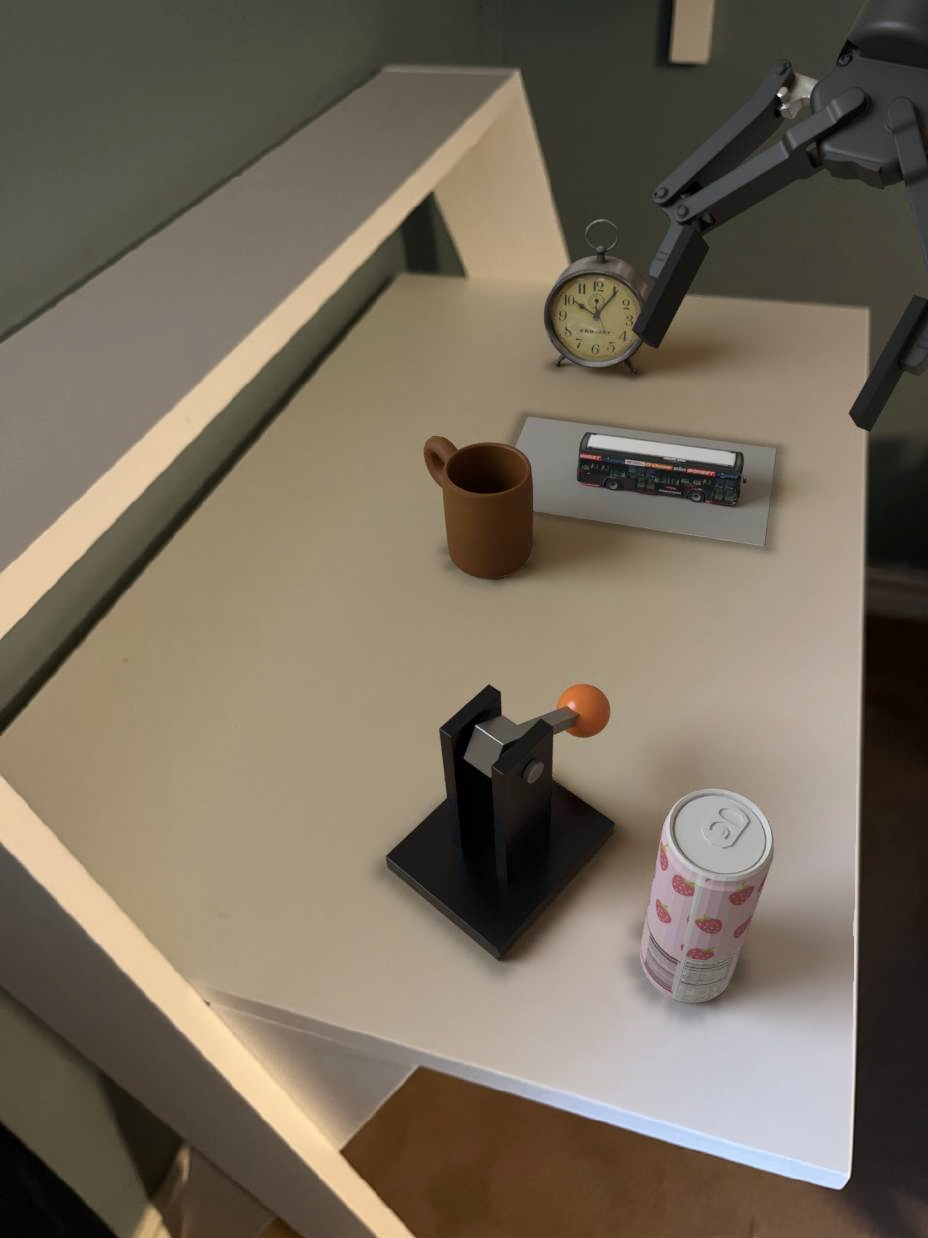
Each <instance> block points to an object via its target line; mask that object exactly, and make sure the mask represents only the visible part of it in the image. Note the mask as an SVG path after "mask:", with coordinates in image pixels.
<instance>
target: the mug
mask: <svg viewBox="0 0 928 1238" xmlns="http://www.w3.org/2000/svg"><path fill="white" fill-rule="evenodd" d="M423 459H424V463H425V465H426V466H425V467H426V468H427V471H428V472H429V474H430V476H431V477H432V479H433V481H434V482H435V483H436V484H437V485H438V486H439V487H440V488H441V489H442V501H443V511H444V524H445V533H446V542H447V551H448V554H449V557H450V559H451V562H452V563H453V564H454V565H455V566H456V568H458V569H459V570H460V571H461V572H462V573H465V574H467V575H470V576H473V577H476V578H480V579H498V578H502V577H503V578H504V577H507V576H509V575H512V574H514V573H516V572H518V571H519V570H520V569H522V568H523V567H524V566H525V565H526V563H527V562H528V561H529V559H530V557H531V555H532V552H533V546H534V545H533V544H534V511H533V479H532V468H531V464H530V461H529V459H528V458H527V457H526V455H525V454H524V453H523V452H521V451H520V450H518V449H516V448H515V446H512V445H510V444H506V443H501V442H495V441H493V442H491V441H487V442H486V441H485V442H477V443H476V442H475V443H472V444H469V445H466V446H463V447H461V448H459V449H458V448H457V447H456V445H454V443H453V442H452V441H450V439H448V438H446V437H444V436H440V435H432V436H431V437H430V438H428V439H427V440H426V441H425V442H424V446H423Z"/></svg>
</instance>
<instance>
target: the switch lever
mask: <svg viewBox="0 0 928 1238" xmlns="http://www.w3.org/2000/svg"><path fill="white" fill-rule="evenodd" d="M610 718H611V705H610V701H609V699H608V697H607V696H606V694H605V693H604V692H603V691H602V690H601V689H600V688H599V687H596V686H595V685H592V684H588V683H587V684H586V683H578V684H574V685H571V686H570V687H568V688H567V689H566V690H564V691H563V693H561V695H560V696H559V698H558V701H557V704H556V709H555V710H552V711H549V712H547V713H545V714H542V715H539V716H536V717H534V718H531V719H529V720H526V721H524V722H522V723H519V724H517V723H516V722H514V721H512V720H511V719H510V718H508V717H507V716H505V715H503V714H502V715H501V716H498V717H496V718H493V719H490V720H488V721H485V722H482V723H479V724H477V725H475V727H474V730H473V733H472V736H471V738H470V741H469V744H468V747H467V750H466V752H465V755H464V759H465V760H466V761H467V762H469V763H470V764H472V765H473V766H474V767H476V768H477V769H478V770H480V771H481V772H483V773H484V774H485V775H487V776H488V777H489V778H492V775H491V766H492V765H493V764H494V763H495V762H496V761H497V760H498V759H499V758H500V757H501V756H502V755H503V754H504V753H505V752H506V751H507V750H508V749H509V748H510V747H511V746H512V745H513V744H514V743H515V742H516V741H518V740H519V739H520V738H521V737H522V736H523V735H524V734H525V733H526V732H527V731H528V730H529V729H530V728H531V727H532V726H533V725H534V724H535V723H536V722H537V721H538V720H539V719H543V720H544V721H546V722H547V723H549V724H550V725H552V726H553V727H554V732H553V736H555V735H558V734H560V733H562V732H566V733H567V734H569V735H571V736H573V737H576V738H580V739H587V738H591V737H595V736H596V735H599V734H600V733H601V732H602V731H603V730H604V729H605V728H606V727H607V726H608V724H609V721H610Z"/></svg>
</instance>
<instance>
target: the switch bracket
mask: <svg viewBox="0 0 928 1238" xmlns="http://www.w3.org/2000/svg"><path fill="white" fill-rule="evenodd" d="M501 715H503V709H502V692H501V690H499V689H498V688H496V687H494V686H493V685H491V684H490V683H489V684H486V686H485V687H484V688H482V689H481V690H480V691H479V692H478V693H477V694H476V695H475V696H474V697H472V698H471V699H470V700H469V701H468V702H467V703H466V704H464V706H462V707H461V708H460V709H459V710H458V711H457V712H456V713H455V714H454V715H453V716H451V717H450V718H448V719H447V720H446V722H444V724H442V725H441V726H440V727H439V728H438V732H439V733H438V734H439V741H440V750H441V758H442V767H443V775H444V784H445V792H446V793H445V794H446V798H445V799H444V800H443V801H442V802H441V803H440V804H439V805H438V806H437V807H435V808H434V810H432V811H431V812H430V813H429V814H428V815H427V816H426V817H425V818H424V819H423V820H422V821H421V822H419V824H417V825H416V827H415V828H414V829H413V830H411V831H410V832H409V833H408V834H407V835H406V836H405V837H404V838H403V839H402V840H401V841H400V842H399V843H398V844H396V846H395V847H393V849H392V850H390V851H389V852H388V853H387V854H386V855H385V861H386V866H387V869H389V870H390V871H391V872H392V873H393V874H395V875H396V876H397V877H398V878H399V879H401V880H402V881H403V882H404V883H405V884H407V885H408V886H409V887H410V888H411V889H412V890H414V891H415V892H416V893H417V894H418V895H420V896H421V897H422V898H423V899H424V900H426V901H427V903H429V904H430V905H431V906H432V907H434V908H435V909H436V910H437V911H438V912H439V913H441V914H442V915H443V916H444V917H445V918H447V919H448V920H449V921H450V922H452V924H453V925H455V926H456V927H458V928H459V930H460V931H462V932H463V933H465V934H466V935H467V936H468V937H469V938H470V939H472V940H473V941H474V942H475V943H476V944H477V945H479V946H480V947H481V948H482V949H484V950H485V951H486V952H487V953H488V954H490V955H491V956H492V957H493V958H494V959H495V960H497V962H501V961H502V959H504V957H505V956H506V955H507V954H508V952H509V951H511V950H512V948H513V947H514V946H515V945H516V944H517V943H518V942H519V940H521V939H522V937H523V936H524V935H525V934H526V932H528V930H529V929H530V928H531V927H532V925H534V923H536V922H537V920H538V919H539V918H540V917H541V916H542V914H544V912H545V911H546V910H547V909H548V908H549V907H550V906H551V904H552V903H553V902H555V900H556V899H557V898H558V897H559V896H560V894H561V893H562V892H563V891H564V890H565V889H567V887H568V886H569V884H571V882H573V880H574V879H575V878H576V877H577V876H578V875H579V874H580V873H581V871H582V870H583V869H584V868H585V867H586V865H588V863H589V862H590V861H591V860H592V859H593V858H594V857H595V856H596V854H597V853H598V852H599V851H601V848H603V846H604V845H605V844H606V843H608V841H609V840H610V839H611V838H612V837H613V835H614V834H615V827H616V821H614V820H613V819H611V818H609V817H608V816H606V815H605V814H604V813H603V812H601V811H599V810H598V809H597V808H595V807H594V806H592V805H591V804H590V803H588V802H587V801H586V800H584V799H582V798H581V797H579V796H578V795H576V794H575V793H574V792H572V791H570V790H569V789H568V788H566V787H565V786H564V785H562V784H560V783H559V782H558V781H556V780H555V779H553V769H554V767H553V765H554V764H553V763H554V735H553V732H554V727H553V726H552V725H550V724H549V723H547V722H546V721H544V720H543V719H539V720H538V721H537V722H536V723H535V724H534V725H533V726H532V727H531V728H530V729H529V730H528V731H527V732H526V733H525V734H524V735H523V736H522V737H521V738H520V739H519V740H518V741H516V742H515V743H514V744H513V745H512V746H511V747H510V748H509V749H508V750H507V751H506V752H505V753H504V754H503V755H502V756H501V757H500V758H499V759H498V760H497V761H496V762H495V763H494V764H493V765H492V766H491V775H492V778H489V777H488V776H487V775H485V774H484V773H483V772H481V771H480V770H478V769H477V768H476V767H474V766H473V765H472V764H470V763H469V762H467V761H466V760H465V759H464V755H465V752H466V750H467V747H468V744H469V741H470V738H471V736H472V733H473V730H474V727H475V725H477V724H479V723H482V722H485V721H488V720H490V719H493V718H496V717H498V716H501Z"/></svg>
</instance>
